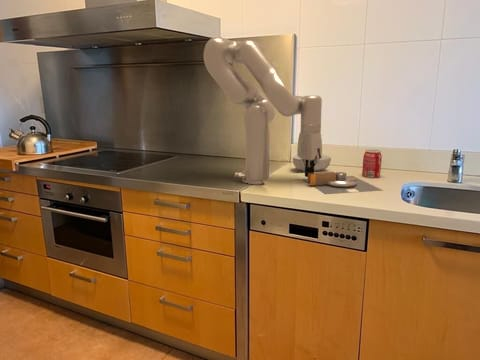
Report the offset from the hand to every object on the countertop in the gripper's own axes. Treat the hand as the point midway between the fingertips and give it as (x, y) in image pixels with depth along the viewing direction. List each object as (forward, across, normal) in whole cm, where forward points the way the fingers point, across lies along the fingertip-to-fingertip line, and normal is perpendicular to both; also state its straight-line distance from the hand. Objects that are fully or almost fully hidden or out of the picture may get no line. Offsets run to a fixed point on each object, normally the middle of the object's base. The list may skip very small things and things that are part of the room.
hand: (309, 176), depth 139 cm
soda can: (+4, +5, +27) cm, 28 cm away
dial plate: (+4, +9, +8) cm, 12 cm away
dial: (+1, +8, +4) cm, 10 cm away
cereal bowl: (+4, -19, +15) cm, 24 cm away
